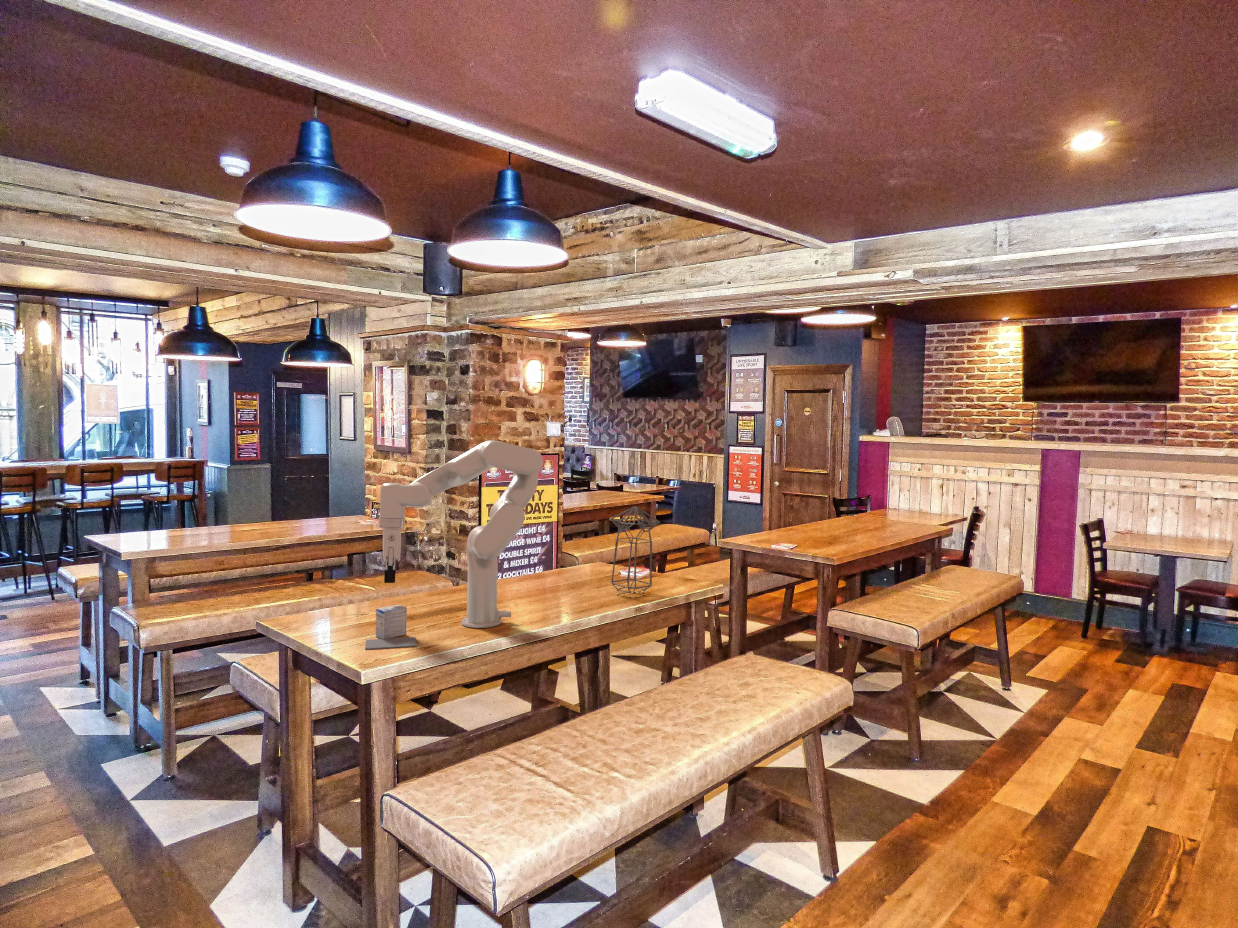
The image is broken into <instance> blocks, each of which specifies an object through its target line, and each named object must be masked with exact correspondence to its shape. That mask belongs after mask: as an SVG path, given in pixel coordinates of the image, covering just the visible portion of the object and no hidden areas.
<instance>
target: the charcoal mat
mask: <svg viewBox="0 0 1238 928" xmlns="http://www.w3.org/2000/svg"><path fill="white" fill-rule="evenodd" d="M403 647H404V648H415V647H418V644H417V637H416V636H409V637H408V636H407V637H393V638H388V639H380V638H374V639H373V638H371V639H365V647H364V650H366V651H368V650H370V651H371V650H384V649H398V648H399V649H401V648H403Z"/></svg>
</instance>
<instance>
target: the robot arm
mask: <svg viewBox="0 0 1238 928" xmlns="http://www.w3.org/2000/svg"><path fill="white" fill-rule="evenodd" d="M543 466H544V459H543V456H542V454H541V453H540V452H539V451H538V450H536V449H533V448H531V447H524V446H521V445H517V444H512V443H507V442H504V441H501V440H494V439H491V440H490V439H489V440H485V441H483V442H481V443H479V444H478V445H476V446H474V447H472V448H471V449H469V450H467V451H465V452H464V453H462V454H460V455H459V456H457V457H455V458H453V459H451V460H450V461H448V462H446V463H444V464H443V465H441V466H439V467H438V468H435V469H434V470H431V471H430V472H428V473H426V474H425V475H423V476H421V477H419V478H418V479H416V480H413V481H412V482H411V483H409V484H404V483H400V482H387V483H386V482H385V483H383V484H382V485H380V490H379V491H380V493H379V496H380V497H379V518H378V519H379V523H378V528H379V529H381V530H382V556H383V557H382V558H383V561H384V562H385V569H384V579H383V580H384V581H383V582H384V584H393V583H396V561H397V562H400V561H401V549H402V547H401V545H402V530H403V529H405V525H406V507H407V508H416V509H417V508H418V509H422V508H426V507H428V506H429V504H431V502H432V500H433V497H435V496H437V495H439V494H440V493H442V492H444V491H446V490H448V489H451V488H455V487H460V486H462V485H464V484H465V485H466V484H467V483H469V482H470V481H472V480H473V479H475V478H477V477H479V476H480V475H482V474H484V473H485V472H487V471H489V470H490V469H492V468H494V469H498V470H504V471H506V472H512V474H513V475H512V479H511V481H510V483H509V484H508V486H507V487H506V489H505V490H504V492H503V493H501V495H500V496H499V498H498V499H497V500H496V501H495V502H494V504H493V505H492V507H491V508H490V510H489V515H488V516H489V520H488V522H487V523H486V524H485V525H477V526H476V527H474V528H472V530H471V531H469V533H468V536H467V538H466V553H467V554H466V555H467V582H466V583H467V586H466V587H467V589H466V590H467V592H466V594H467V595H466V598H467V599H466V617H464V618H462V619H461V625H463V626H464V627H466V628H475V629H485V628H487V629H488V628H494V627H498V626H499V625H501V624H502V618H512V611H511V610H508V611H507V610H500V609H499V608H498V573H499V572H498V571H499V569H498V566H499V565H498V564H499V563H498V557H499V556H500V555H501V554H502V553H503V552H504V551H505V549H506V548H507V547H508V546H509V545H510V543H511V542H512V541H513V539H514V538H515V536H516V535H518V533H519V531H520V530H521V528H522V527H523V525H524V523H525V511H524V510H525V508H526V507H527V505H528V503H530V501H531V499H532V498H533V496H534V494H535V493H536V490H537V487H538V484H539V472H540V471H541V470H542V469H543Z"/></svg>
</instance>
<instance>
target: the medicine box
mask: <svg viewBox="0 0 1238 928" xmlns="http://www.w3.org/2000/svg"><path fill="white" fill-rule="evenodd" d="M407 615H408V608H407V606H404V605H401V604H395V605H390V606H383V607H379V608H375V637H376V638H377V637H378V638H377V639H380V638H381V639H388V638H399V637H401V636H405V635H407V620H408V619H407V617H408V616H407Z"/></svg>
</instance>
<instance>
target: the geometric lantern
mask: <svg viewBox="0 0 1238 928" xmlns="http://www.w3.org/2000/svg"><path fill="white" fill-rule="evenodd" d="M633 513H634V514H633ZM622 515H624V516H623V517H622V518H620V519H619V518H618V517H619V516H622ZM633 515H634V517H633ZM647 516H648V517H650V518H651V519H653V520H650V519H649V518H648V517H647ZM608 520H609V521H612V523H613V524H614V525H615V527H617V535H616V539H615V547H614V557H613V566H612V573H611V581H610V583H611V584H612V586H613V587H614V588H615V589H616V592H617V591H618V592H622V593H623V592H627V590H623V589H627V588H628V592H627V594H630V593H631V592H633V593H634V594H636V592H638V593H642V592H641V591H644V592H646V590H648V589H649V588H651V587H653V577H652V576H653V575H652V574H653V573H652V571H653V569H652V567H653V566H652V565H653V564H652V563H653V562H652V561H653V560H652V557H653V555H652V554H653V540H652V536H651V530H653V529H654V528H656V527H657V526H658V525H660V523H661V521H660V520H658V519H656V518H655V517H654V516H653V515H651V514H649V513H648V512H647V511H645V510H643V509H642V508H641V507H639V506H632V507H630V508H628V509H626V510H624V511H622V512H620V513H619V514H616V515H615V516H612V517H611V518H609V519H608ZM632 520H633V522H632ZM636 520H637V523H636ZM627 521H628V522H627ZM621 524H622V525H621ZM634 525H635V526H636V525H638V526H639V527H640V531H639V532H638V534H637V535H636V536H635V537H634V536H633V534H632V533H631V531H630V528H631V527H633V526H634ZM645 529H646V530H645ZM626 530H627V531H628V532H629V534H630V536H629V535H628V533H627V531H626ZM621 531H623V532H624V533H625V535H626V537H620V533H621ZM647 532H648V537H649V538H648V539H644V538H641V537H642V535H643V534H644V533H647ZM627 539H628V541H625V540H627ZM634 540H635V542H633V541H634ZM639 540H641V541H643V542H638V541H639ZM619 542H622V543H626V544H627V543H628V544H630V545H629V546H630V548H629V549H630V551H629V559H628V568H627V570H628V571H627V577H626V578H624V579H617V580H614V577H615V566H616V558H617V552H618V544H619ZM639 544H649V561H650V562H649V582H647V581H642V580H639V579H637V548H638V545H639ZM633 545H634V568H633V570H634V571H633V578H630V577H631V566H632V565H631V564H632V563H631V562H632V549H633ZM624 581H626V583H627V586H626V585H623V584H622V585H621V584H619V583H618V582H624ZM630 581H632V582H631V584H630ZM637 582H638V583H643V584H646V585H642V586H637ZM633 584H634V586H633ZM617 586H618V587H620V588H617ZM643 588H644V589H643ZM630 589H631V591H630ZM639 589H641V590H639ZM632 590H633V591H632ZM635 590H638V591H635Z"/></svg>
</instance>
